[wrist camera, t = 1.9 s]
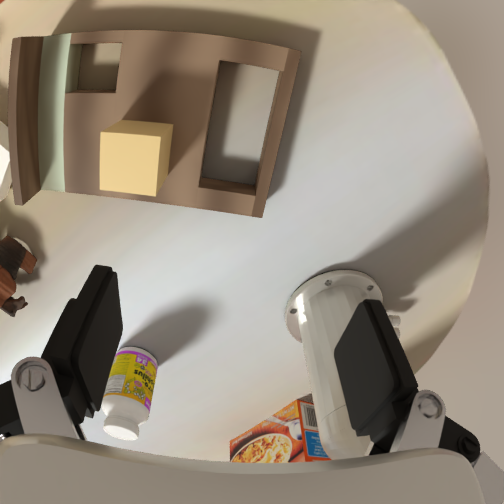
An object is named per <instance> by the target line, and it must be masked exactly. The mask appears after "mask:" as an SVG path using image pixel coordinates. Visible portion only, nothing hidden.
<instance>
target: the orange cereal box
mask: <svg viewBox="0 0 504 504" xmlns="http://www.w3.org/2000/svg"><path fill="white" fill-rule="evenodd" d="M327 460H331V459H330V458H329V457H328V455H327V454H326V453H325V451H324V449H323V447H322V445H321V441H320V437H319V431H318V426H317V420H316V414H315V409H314V404H312V403H308V402H304V401H300V400H295V401H294V402H292V403H291V404H289V405H288V406H286V407H285V408H283V409H282V410H280V411H279V412H277V413H276V414H274V415H272V416H271V417H269V418H268V419H266V420H265V421H263V422H261V423H260V424H258V425H256V426H255V427H253V428H252V429H250V430H248V431H247V432H245V433H243V434H241V435H240V436H238V437H236V438H235V439H233V440H231V441H230V462H238V463H295V462H314V461H327Z"/></svg>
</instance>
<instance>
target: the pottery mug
mask: <svg viewBox="0 0 504 504" xmlns="http://www.w3.org/2000/svg"><path fill="white" fill-rule="evenodd" d="M36 262H37V260H36V258H35V257H34V256H33V255H32V254H31V253H30V252H29V251H28V250H26V248H24V247H23V246H22V245H21V244H20V243H19V242H18V241H16V240H15V239H13V238H11V237H9V236H6V237H5V238H4V239H3V240H1V241H0V308H1V309H2V310H3V311H5V312H6V313H7V314H9V315H10V316H12V317H15V313H16V311H17V310H20V309H22V308H24V307H25V306H26V305H28V303H27V302H25V299H24V297H23V296H21V297H20V298H18V299H14V298H13V297H11V296H12V295H13V294H14V293H15V292H16V283H15V281H14V280H15V279H16V275H17V272H18V269H19V268H22V269H23V270H25V271H26V272H27V273H28V274H31V273H32V272H33V268H34V266H35V264H36Z"/></svg>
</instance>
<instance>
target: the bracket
mask: <svg viewBox="0 0 504 504" xmlns="http://www.w3.org/2000/svg"><path fill="white" fill-rule="evenodd" d="M11 183H12V178H11V168H10V155H9V138H8V127H7V126H6V125H5V124H3V123H2V122H1V121H0V202H1V201H2V200H3V199H4V198H5V197H7V194H8V191H9V189H10V186H11Z"/></svg>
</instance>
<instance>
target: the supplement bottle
mask: <svg viewBox="0 0 504 504" xmlns="http://www.w3.org/2000/svg"><path fill="white" fill-rule="evenodd" d="M157 368H158V364H157V361H156V359H155V358H154V357H153V356H152V355H151V354H150V353H149V352H147V351H145V350H143V349H140V348H137V347H125V348H122V349H120V350H119V351H118V352H117V353H116V355H115V358H114V361H113V365H112V368H111V371H110V375H109V378H108V382H107V386H106V389H105V393H104V397H103V400H102V409H103V411H104V413H105V414H106V415H107V418H106V419H105V421H104V426H103V429H104V431H105V432H106V433H108V434H109V435H111V436H113V437H116V438H119V439H123V440H136V439H137V438H138V435H139V427H138V425H141V424H143V423H145V422H146V421H147V420H148V417H149V413H150V406H151V401H152V395H153V390H154V384H155V379H156V374H157Z"/></svg>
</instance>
